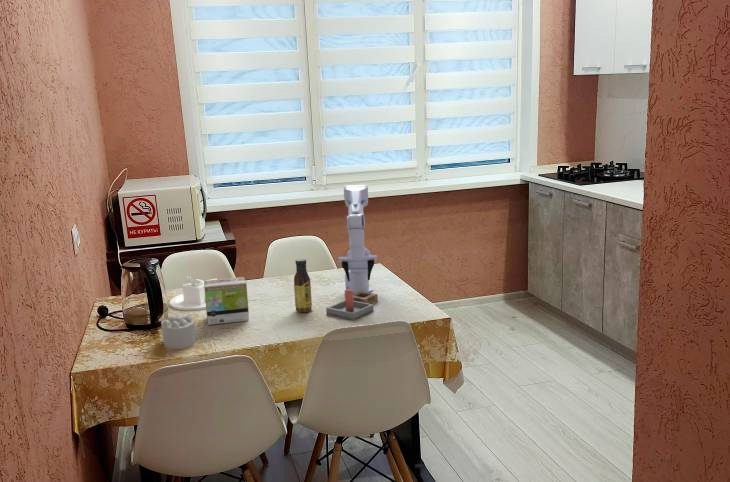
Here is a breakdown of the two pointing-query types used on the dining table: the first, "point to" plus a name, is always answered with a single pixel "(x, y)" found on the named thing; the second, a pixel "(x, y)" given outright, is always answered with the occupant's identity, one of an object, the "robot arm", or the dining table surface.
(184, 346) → the white bowl of pebbles
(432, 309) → the dining table surface
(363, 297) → the pin block
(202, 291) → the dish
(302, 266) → the sauce bottle
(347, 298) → the pin
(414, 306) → the dining table surface
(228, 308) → the tea box
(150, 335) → the dining table surface
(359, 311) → the tray
